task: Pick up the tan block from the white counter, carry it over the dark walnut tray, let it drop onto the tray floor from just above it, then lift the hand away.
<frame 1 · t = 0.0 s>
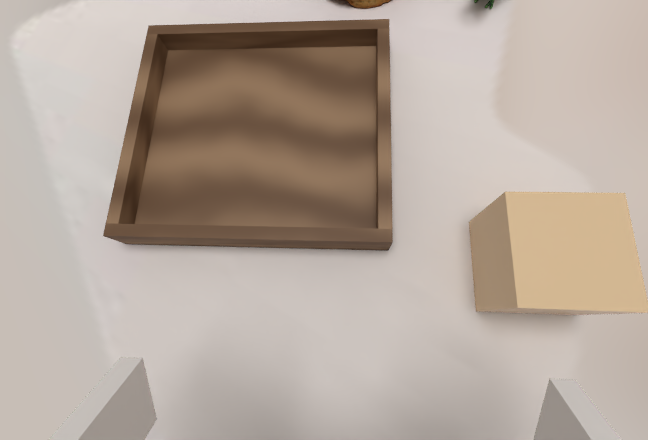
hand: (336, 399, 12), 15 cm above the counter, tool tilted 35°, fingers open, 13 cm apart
tan block: (518, 266, 27), on the counter
tray: (263, 138, 32), on the counter
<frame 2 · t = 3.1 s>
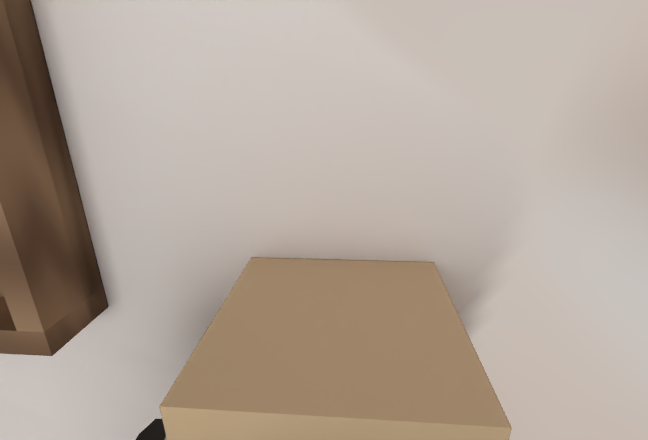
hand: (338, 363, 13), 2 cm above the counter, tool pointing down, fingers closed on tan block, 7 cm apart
tan block: (340, 335, 15), on the counter, touching gripper
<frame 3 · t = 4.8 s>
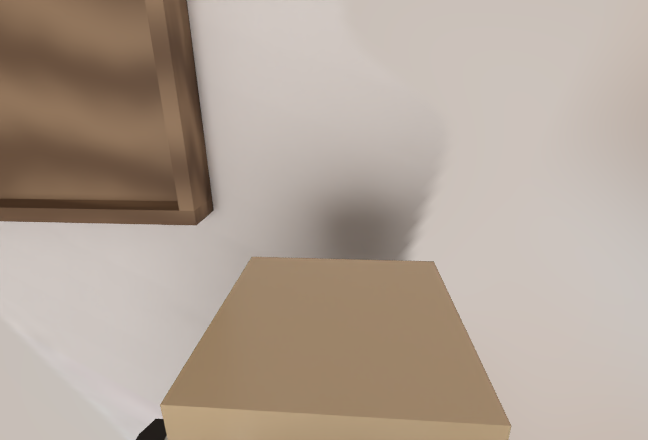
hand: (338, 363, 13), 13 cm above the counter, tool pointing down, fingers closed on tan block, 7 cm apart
tan block: (340, 334, 15), point 12 cm above the counter, touching gripper
tray: (34, 65, 23), on the counter
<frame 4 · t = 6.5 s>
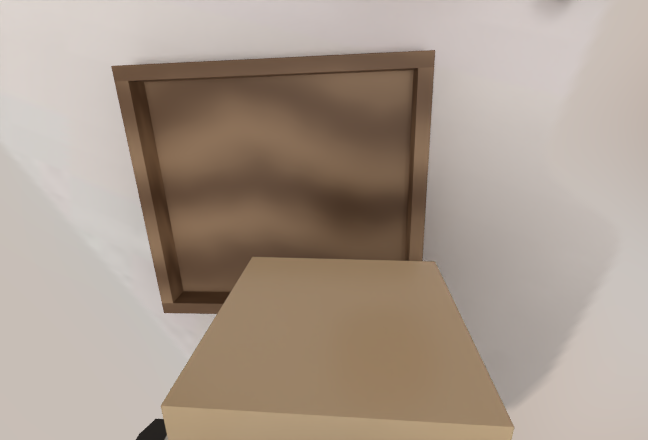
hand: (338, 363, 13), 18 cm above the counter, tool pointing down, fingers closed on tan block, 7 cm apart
tan block: (341, 334, 15), point 16 cm above the counter, touching gripper
tray: (285, 192, 30), on the counter
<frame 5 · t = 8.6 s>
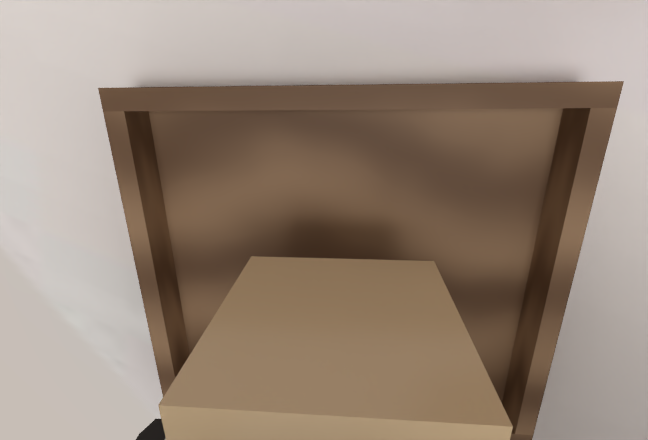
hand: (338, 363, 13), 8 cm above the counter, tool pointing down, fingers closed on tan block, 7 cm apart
tan block: (340, 334, 15), point 7 cm above the counter, touching gripper
tray: (344, 265, 21), on the counter
when the fingers open (4 cm above the counter, at t = 10.2 s): tan block drops 1 cm, resting on tray.
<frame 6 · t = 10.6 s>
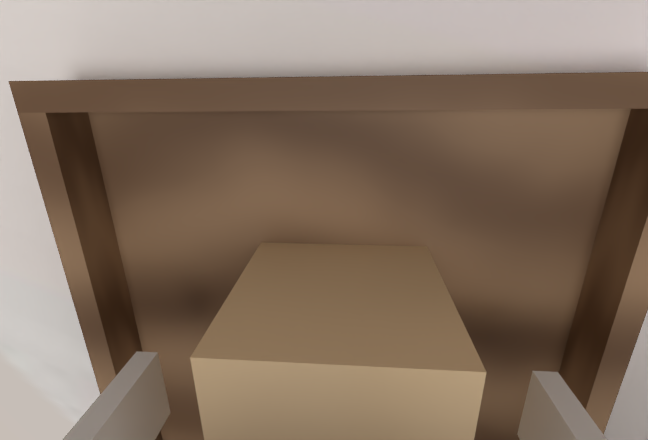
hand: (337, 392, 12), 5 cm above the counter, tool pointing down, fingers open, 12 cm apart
tan block: (341, 314, 16), point 1 cm above the counter, touching tray
tray: (342, 302, 17), on the counter
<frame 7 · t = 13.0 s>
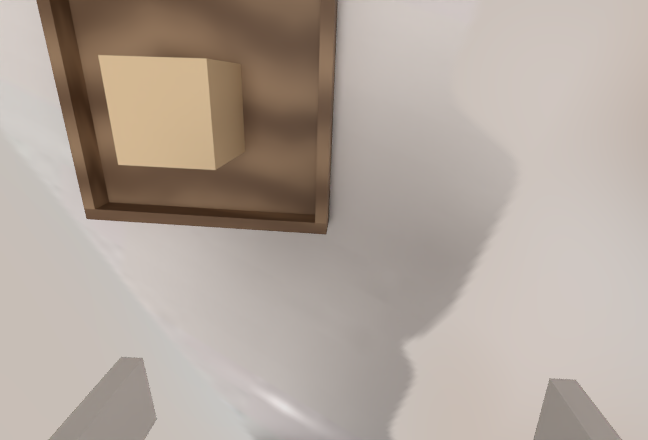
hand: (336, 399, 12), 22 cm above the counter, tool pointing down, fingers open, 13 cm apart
tan block: (202, 107, 30), point 1 cm above the counter, touching tray
tray: (206, 107, 31), on the counter
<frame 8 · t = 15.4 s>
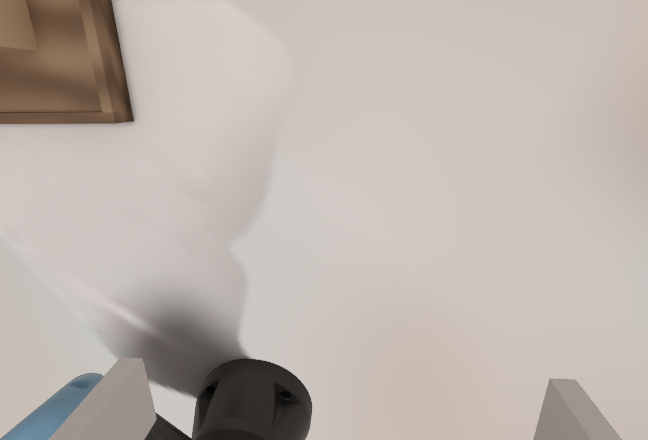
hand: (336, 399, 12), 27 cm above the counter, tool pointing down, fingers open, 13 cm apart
tray: (2, 12, 33), on the counter
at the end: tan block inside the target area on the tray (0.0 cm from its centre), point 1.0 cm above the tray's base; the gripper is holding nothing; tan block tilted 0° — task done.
